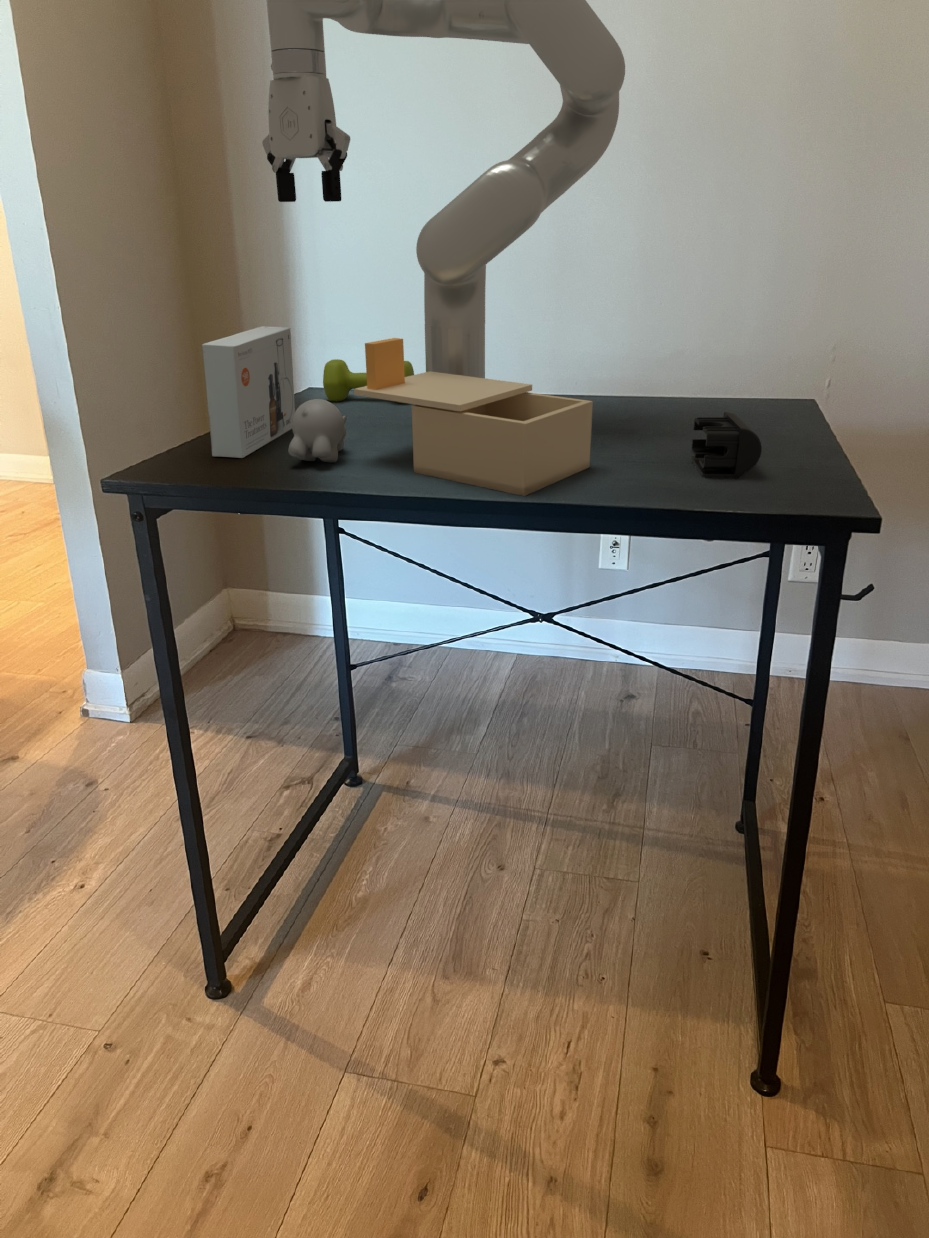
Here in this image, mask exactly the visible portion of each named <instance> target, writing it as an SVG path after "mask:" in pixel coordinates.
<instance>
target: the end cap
mask: <svg viewBox="0 0 929 1238" xmlns="http://www.w3.org/2000/svg"><path fill="white" fill-rule="evenodd" d="M693 431H702V432H704V435H706V438H692V439H691V448H690V449H691V453H692V456H691V458H690V461H691V460H692V461H691V463H692V462H693V463H692V464H693V466H694V467H695V466H696V467H695V469H696V468H697V469H696V470H697V471H699V472H700V473H699V472H698V473H699V474H701V475H700V476H701V478H703V477H705V479H736V477H737V478H739V477H742V476H743V475H745V473H748V471H751V470H752V469H753V468H754V467H755V466H756V465H757V463H758V462H759V460H760V458H761V455H762V448H763V447H762V441H761V439H760V437H758V435H757V434H756V433H755V431H753V430H752V429H751V428H750V427H749V426H748V425H747V424H746V423H745V422H744V421H743V420H742V419H741V418H740V417H739V416H738V415H736V414H735V413H731V412H728V411H723V417H719V416H717V417H716V416H710V417H709V416H707V417H706V416H703V417H702V416H700V417H699V416H698V417H695V418H694V421H693Z"/></svg>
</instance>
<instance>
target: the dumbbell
mask: <svg viewBox="0 0 929 1238" xmlns="http://www.w3.org/2000/svg"><path fill="white" fill-rule="evenodd" d="M404 374H405V377H408V376H412V375H415V370H414V367H413V365H412V363H411V361H409V360H404ZM322 377H323V378H322V384H323V385H322V386H323V390H324V394H325V396H326V399H328V400H327V401H329V402H341V401H344V400H345V399H346V398H347V397H349V393H350V391H351V390H354V389H356V388H360V387H364V386H367V374H366V372H352V371H350V369H349V366H348V364H347V362H346V361H345V360H343V359H336V358H334V359H331V360H329V361H327V362H326V363H325V365H324V368H323V375H322ZM393 402H394V403H396V404H404V403H403V402H397V401H393Z"/></svg>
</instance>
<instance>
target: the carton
mask: <svg viewBox="0 0 929 1238" xmlns="http://www.w3.org/2000/svg"><path fill="white" fill-rule="evenodd" d="M593 403H594V401H592V400H588V399H587V400H586V399H580V398H579V399H578V398H571V397H564V396H556V395H549V394H543V393H536V392H530V391H529V392H525V393H522V394H518V395H515V396H512V397H508V398H505V399H501V400H498V401H494V402H491V403H488V404H484V405H481V406H477V407H474V408H471V409H467V410H464V411H453V410H447V409H441V408H435V407H428V406H422V405H416V404H412V405H411V424H412V426H411V427H412V454H413V458H412V459H413V473H415V474H420V475H425V476H428V477H433V478H436V479H437V478H438V479H443V480H448V481H452V482H456V483H462V484H467V485H471V486H476V487H481V488H483V489H484V488H485V489H490V490H493V491H494V490H495V491H499V492H503V493H508V494H513V495H517V496H521V497H522V496H523V497H525V496H527V495H530V494H532V493H535V492H537V491H538V490H541V489H543V488H545V487H549V486H550V485H553V484H555V483H557V482H560V481H562V480H564V479H566V478H568V477H570V476H573V475H575V474H577V473H579V472H582V471H584V470H586V469H588V468H590V462H591V444H592V443H591V442H592V424H593Z"/></svg>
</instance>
